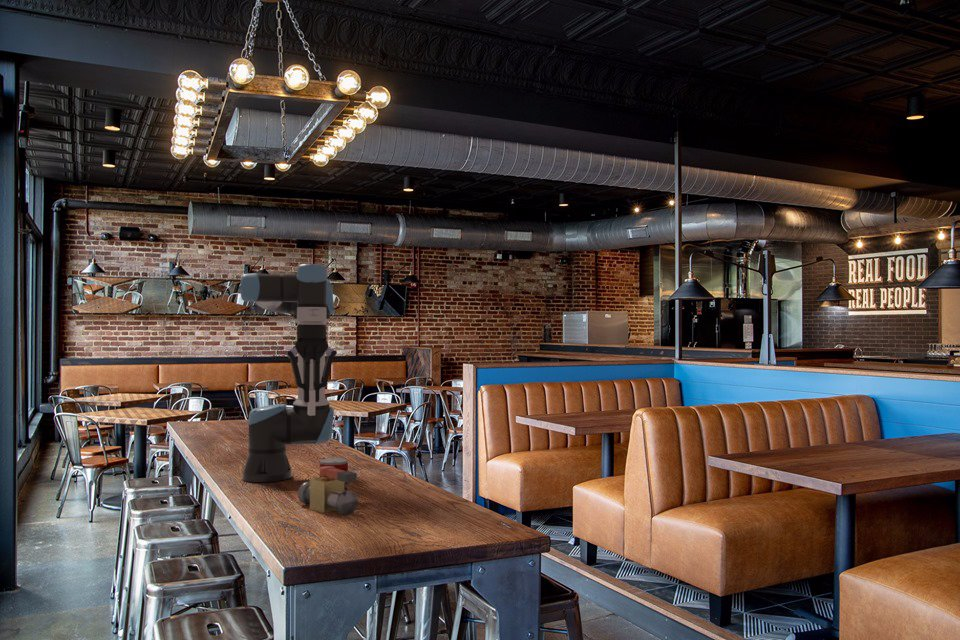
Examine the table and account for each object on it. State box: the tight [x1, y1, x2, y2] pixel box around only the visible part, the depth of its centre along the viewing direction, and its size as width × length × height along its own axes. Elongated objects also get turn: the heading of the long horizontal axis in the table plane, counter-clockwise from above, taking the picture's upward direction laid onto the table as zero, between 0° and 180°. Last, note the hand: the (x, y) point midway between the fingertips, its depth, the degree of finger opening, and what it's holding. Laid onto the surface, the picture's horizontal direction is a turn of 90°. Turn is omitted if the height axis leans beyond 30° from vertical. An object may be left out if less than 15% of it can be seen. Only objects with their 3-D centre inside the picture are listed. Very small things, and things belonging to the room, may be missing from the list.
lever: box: [319, 466, 357, 483], centre depth 193 cm, size 14×4×2 cm, turn 41°
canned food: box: [319, 457, 349, 491], centre depth 208 cm, size 8×8×11 cm
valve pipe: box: [297, 476, 359, 516], centre depth 197 cm, size 18×6×9 cm, turn 47°
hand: (311, 414), depth 192 cm, fingers closed
